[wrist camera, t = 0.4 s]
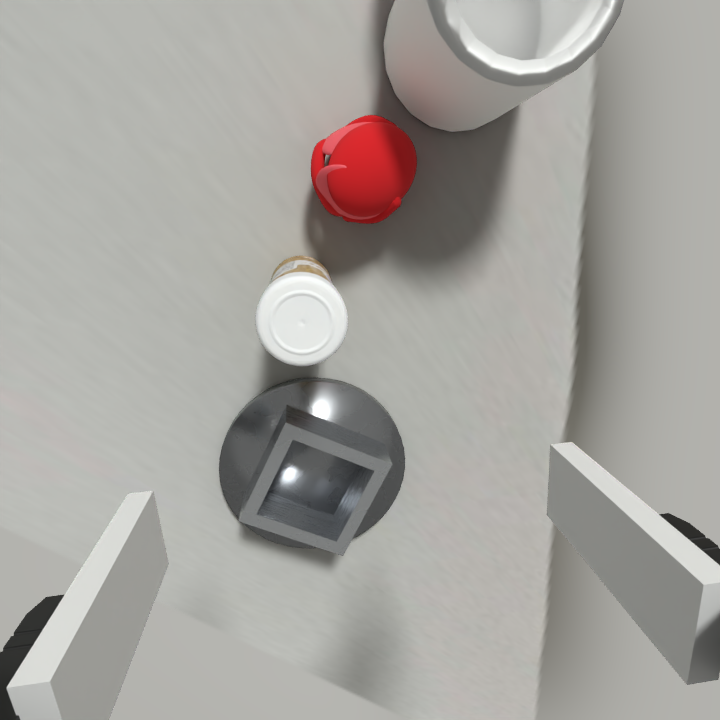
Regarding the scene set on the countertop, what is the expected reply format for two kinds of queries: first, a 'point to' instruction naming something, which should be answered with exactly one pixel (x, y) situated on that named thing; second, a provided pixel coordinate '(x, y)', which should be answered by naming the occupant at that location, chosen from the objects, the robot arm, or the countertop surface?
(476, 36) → the mug
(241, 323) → the countertop surface
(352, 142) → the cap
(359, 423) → the square hole disc
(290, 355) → the sprinkles bottle
